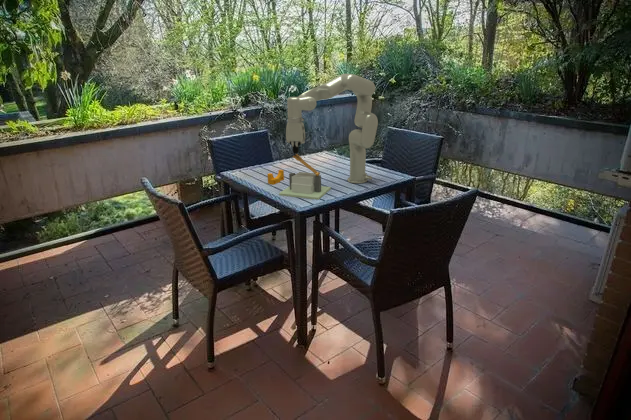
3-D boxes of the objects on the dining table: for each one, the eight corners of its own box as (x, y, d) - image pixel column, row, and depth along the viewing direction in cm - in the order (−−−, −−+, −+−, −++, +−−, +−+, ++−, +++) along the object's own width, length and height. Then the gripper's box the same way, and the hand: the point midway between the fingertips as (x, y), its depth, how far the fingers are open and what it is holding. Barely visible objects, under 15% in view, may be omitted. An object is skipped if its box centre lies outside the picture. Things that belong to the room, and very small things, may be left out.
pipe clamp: (273, 185, 257) (272, 174, 255) (268, 183, 260) (267, 173, 257) (286, 180, 266) (285, 170, 264) (281, 179, 269) (280, 169, 266)
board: (330, 189, 247) (330, 171, 243) (318, 199, 229) (318, 181, 226) (293, 185, 255) (293, 168, 252) (279, 195, 238) (278, 177, 234)
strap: (319, 174, 238) (321, 172, 237) (316, 176, 234) (317, 175, 233) (295, 155, 239) (297, 153, 239) (292, 157, 235) (293, 155, 234)
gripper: (310, 119, 230) (310, 152, 237) (285, 118, 236) (286, 151, 242) (304, 122, 224) (305, 155, 230) (279, 120, 229) (281, 153, 236)
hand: (295, 153), depth 236 cm, fingers closed
